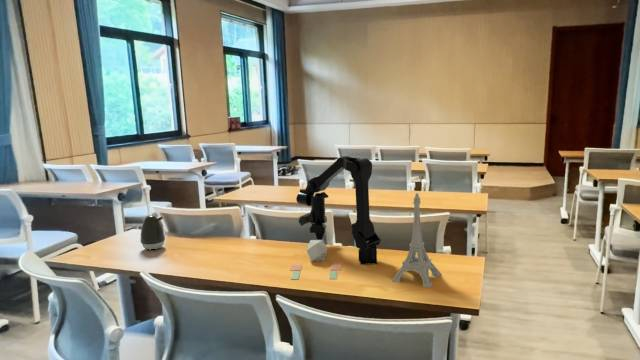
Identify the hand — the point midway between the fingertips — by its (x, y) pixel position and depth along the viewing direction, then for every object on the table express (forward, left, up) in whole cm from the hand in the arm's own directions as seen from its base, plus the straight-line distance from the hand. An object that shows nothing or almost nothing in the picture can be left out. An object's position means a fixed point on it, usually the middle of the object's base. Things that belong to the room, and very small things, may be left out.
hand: (319, 243), depth 187 cm
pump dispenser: (+74, -3, -2) cm, 74 cm away
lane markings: (0, +27, -2) cm, 27 cm away
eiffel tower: (-36, +33, -3) cm, 49 cm away
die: (0, +14, -2) cm, 14 cm away
